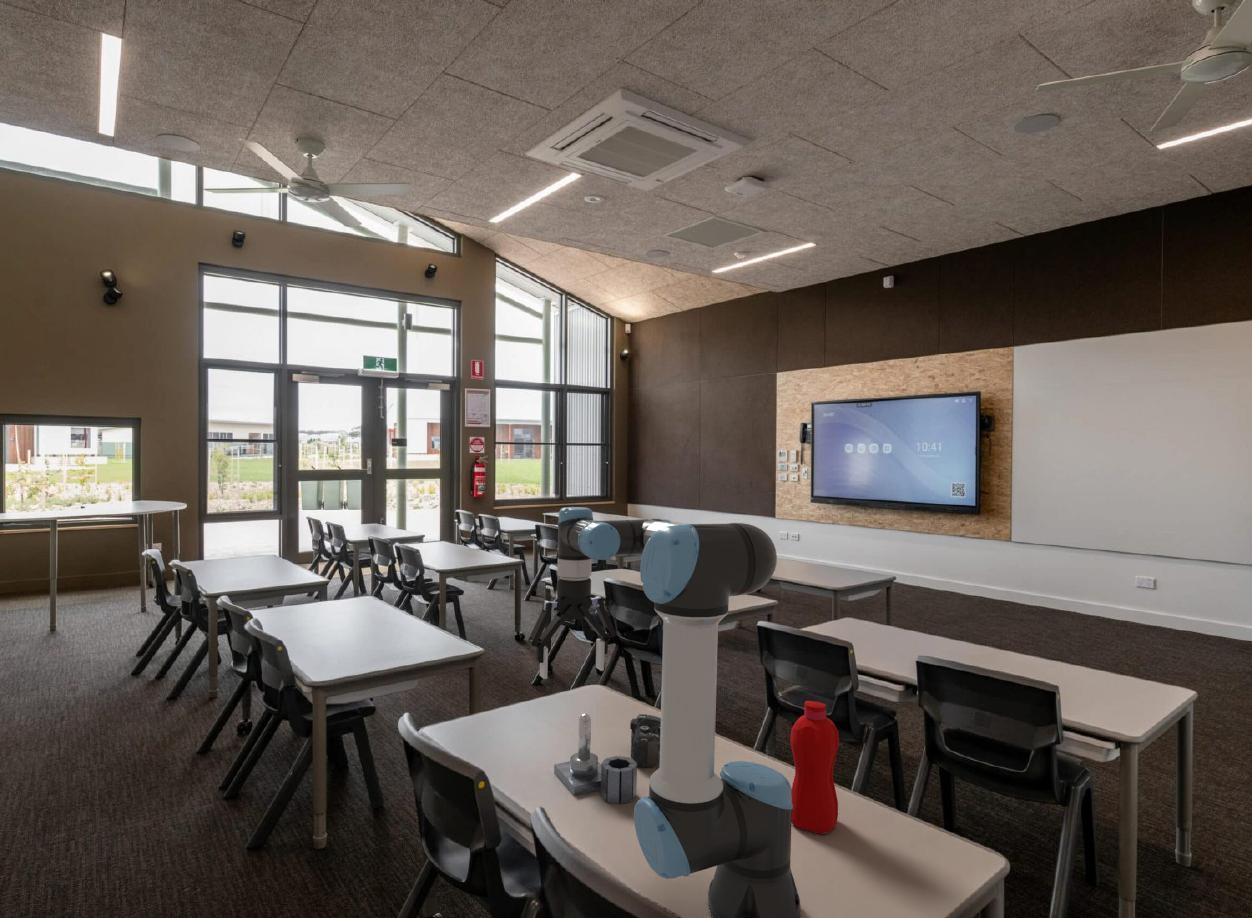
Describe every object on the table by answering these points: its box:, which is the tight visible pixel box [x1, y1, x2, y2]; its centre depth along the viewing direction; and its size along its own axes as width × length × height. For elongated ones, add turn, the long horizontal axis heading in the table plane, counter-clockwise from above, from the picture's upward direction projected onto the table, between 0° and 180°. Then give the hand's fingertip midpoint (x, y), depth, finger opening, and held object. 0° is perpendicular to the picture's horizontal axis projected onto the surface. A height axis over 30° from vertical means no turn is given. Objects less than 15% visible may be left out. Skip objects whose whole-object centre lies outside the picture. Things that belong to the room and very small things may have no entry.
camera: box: [629, 713, 661, 768], centre depth 172 cm, size 13×10×10 cm
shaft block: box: [553, 712, 601, 797], centre depth 159 cm, size 12×10×15 cm
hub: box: [600, 755, 638, 805], centre depth 152 cm, size 8×8×7 cm
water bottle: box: [789, 700, 840, 835], centre depth 143 cm, size 9×11×25 cm
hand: (572, 673), depth 152 cm, fingers open, 13 cm apart
